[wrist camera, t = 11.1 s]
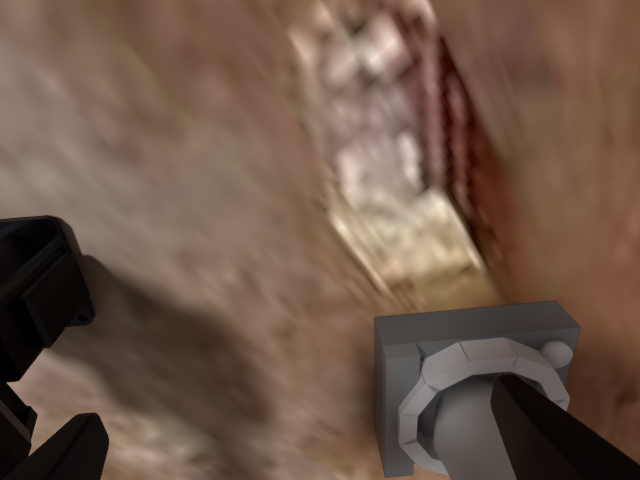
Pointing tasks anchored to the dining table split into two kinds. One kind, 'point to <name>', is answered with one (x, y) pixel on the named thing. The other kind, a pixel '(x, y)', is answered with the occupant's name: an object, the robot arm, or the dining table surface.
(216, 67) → the dining table surface
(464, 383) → the salt shaker
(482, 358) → the ringed square socket
